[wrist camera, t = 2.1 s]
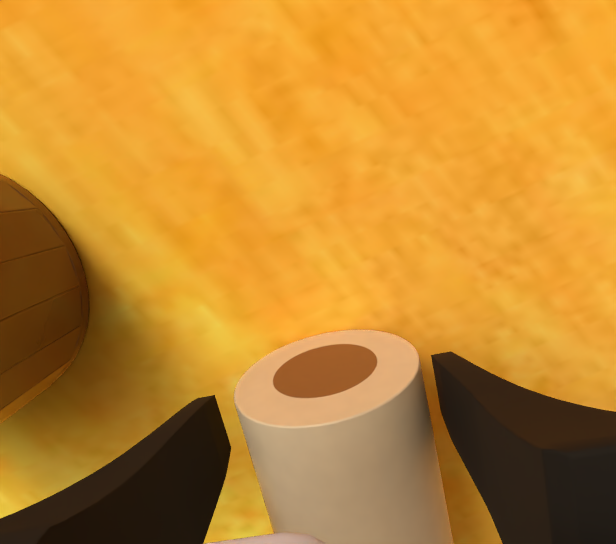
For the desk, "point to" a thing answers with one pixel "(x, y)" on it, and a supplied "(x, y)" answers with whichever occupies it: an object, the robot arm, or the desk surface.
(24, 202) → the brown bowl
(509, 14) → the desk surface
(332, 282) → the desk surface
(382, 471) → the paper roll
